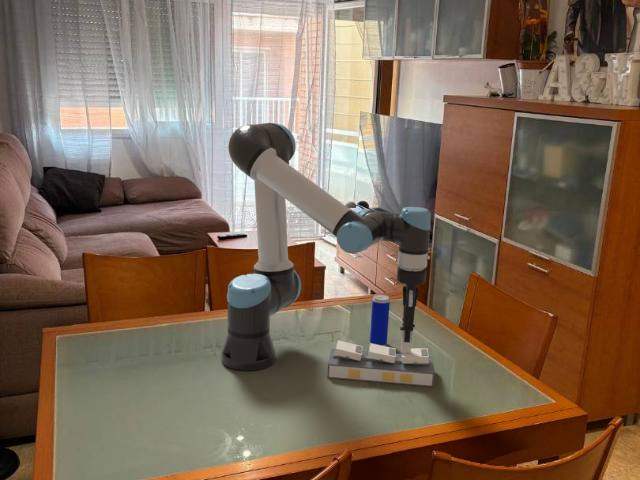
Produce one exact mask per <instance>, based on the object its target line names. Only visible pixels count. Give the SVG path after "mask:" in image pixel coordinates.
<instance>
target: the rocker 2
mask: <svg viewBox="0 0 640 480" xmlns="http://www.w3.org/2000/svg"><path fill="white" fill-rule="evenodd" d="M368 347H369V348H368V351H369V355H368V358H372V359H376V360H379V361H380V362H383V361H386V362H390V363H394V362H395V358H396V354H397V353H396V348H395V347H390V346H386V345H385V346H381V345H377V344H372V343H370V342H369V346H368Z"/></svg>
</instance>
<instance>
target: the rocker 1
mask: <svg viewBox="0 0 640 480" xmlns="http://www.w3.org/2000/svg"><path fill="white" fill-rule="evenodd" d="M363 347H364V346H362V345H359V344H354V343H350V342H346V341H343V340H339V339H338V340H337V342H336V348H335V349H336V351H335V355H338V356H342V357H346V359H349V358H350V359H355V360H359V361H360V360H361V356H362V351H363Z"/></svg>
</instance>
